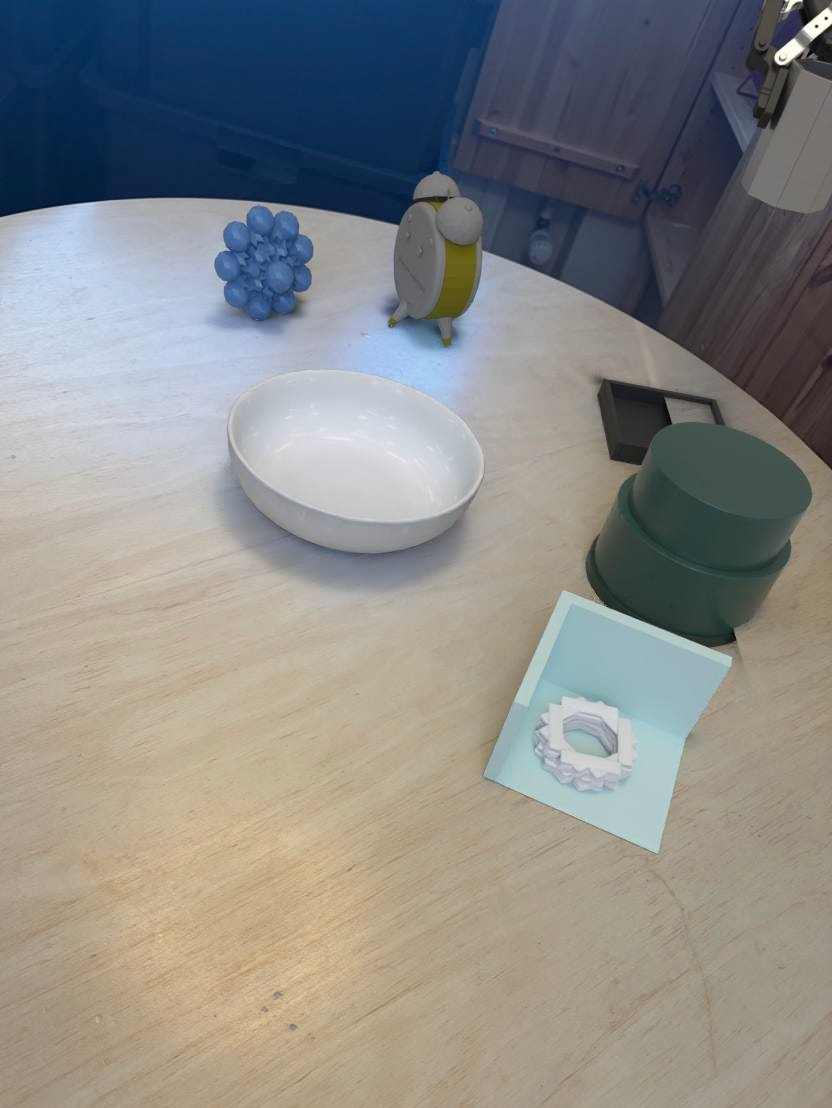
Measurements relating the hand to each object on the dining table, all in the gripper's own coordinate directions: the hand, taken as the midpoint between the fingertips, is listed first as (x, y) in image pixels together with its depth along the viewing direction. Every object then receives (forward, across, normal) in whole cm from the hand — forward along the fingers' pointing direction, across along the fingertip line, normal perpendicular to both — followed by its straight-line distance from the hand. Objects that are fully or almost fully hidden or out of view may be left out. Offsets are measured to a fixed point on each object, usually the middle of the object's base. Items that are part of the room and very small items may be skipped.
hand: (812, 135), depth 75 cm
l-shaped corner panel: (+50, -1, -7) cm, 50 cm away
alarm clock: (+13, -29, +30) cm, 44 cm away
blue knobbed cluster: (+20, -43, +24) cm, 53 cm away
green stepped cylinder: (+35, +3, +8) cm, 36 cm away
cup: (+2, 0, +5) cm, 5 cm away
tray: (+18, 0, +25) cm, 31 cm away
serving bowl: (+38, -25, +6) cm, 46 cm away
